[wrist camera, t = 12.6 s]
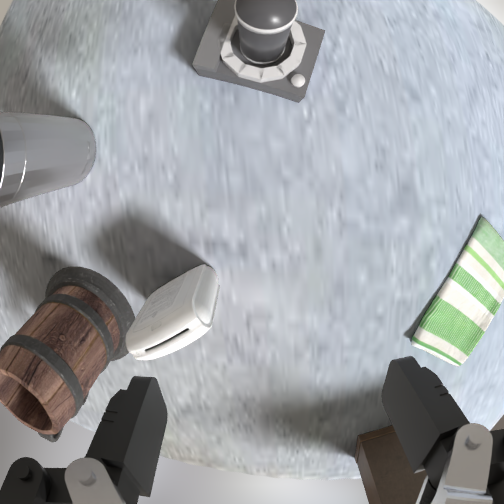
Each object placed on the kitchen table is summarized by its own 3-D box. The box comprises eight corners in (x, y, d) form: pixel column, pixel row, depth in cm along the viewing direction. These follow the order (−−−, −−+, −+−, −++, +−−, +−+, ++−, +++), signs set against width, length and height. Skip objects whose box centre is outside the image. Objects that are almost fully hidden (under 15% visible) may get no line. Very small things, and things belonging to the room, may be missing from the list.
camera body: (199, 75, 30) (192, 64, 25) (222, 14, 27) (219, -4, 23) (298, 102, 31) (307, 95, 27) (318, 40, 29) (328, 25, 24)
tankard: (44, 252, 37) (-46, 315, 18) (143, 286, 39) (78, 387, 20) (51, 365, 44) (2, 438, 25) (131, 398, 46) (98, 488, 27)
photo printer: (163, 317, 40) (138, 375, 28) (145, 294, 39) (112, 346, 27) (225, 284, 39) (217, 340, 27) (207, 257, 37) (190, 305, 26)
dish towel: (519, 263, 40) (527, 268, 37) (454, 362, 46) (461, 370, 43) (478, 215, 37) (488, 219, 34) (401, 337, 43) (408, 346, 40)
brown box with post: (353, 465, 55) (384, 582, 22) (357, 435, 50) (401, 576, 17) (423, 441, 54) (469, 545, 21) (436, 408, 50) (499, 526, 17)
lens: (234, 59, 27) (226, 22, 17) (246, 23, 25) (244, -22, 16) (278, 70, 27) (289, 37, 18) (289, 34, 26) (304, -8, 16)
